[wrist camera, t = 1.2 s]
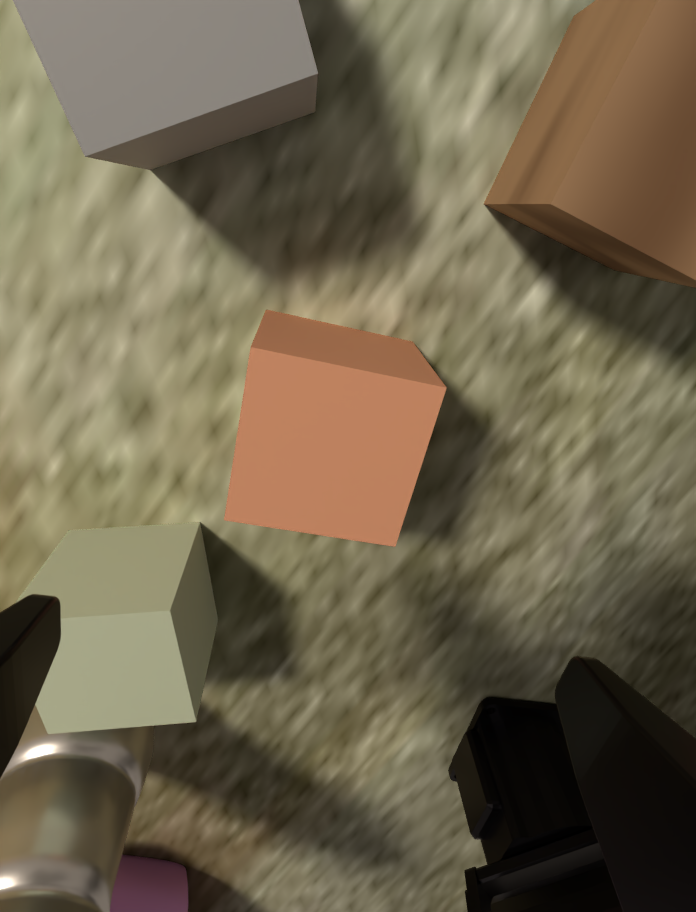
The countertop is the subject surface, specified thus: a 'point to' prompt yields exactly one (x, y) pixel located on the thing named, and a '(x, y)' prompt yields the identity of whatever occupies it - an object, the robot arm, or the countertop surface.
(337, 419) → the terracotta block
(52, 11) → the slate block
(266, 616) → the countertop surface
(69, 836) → the plastic bottle
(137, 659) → the sage block
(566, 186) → the walnut block
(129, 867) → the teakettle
